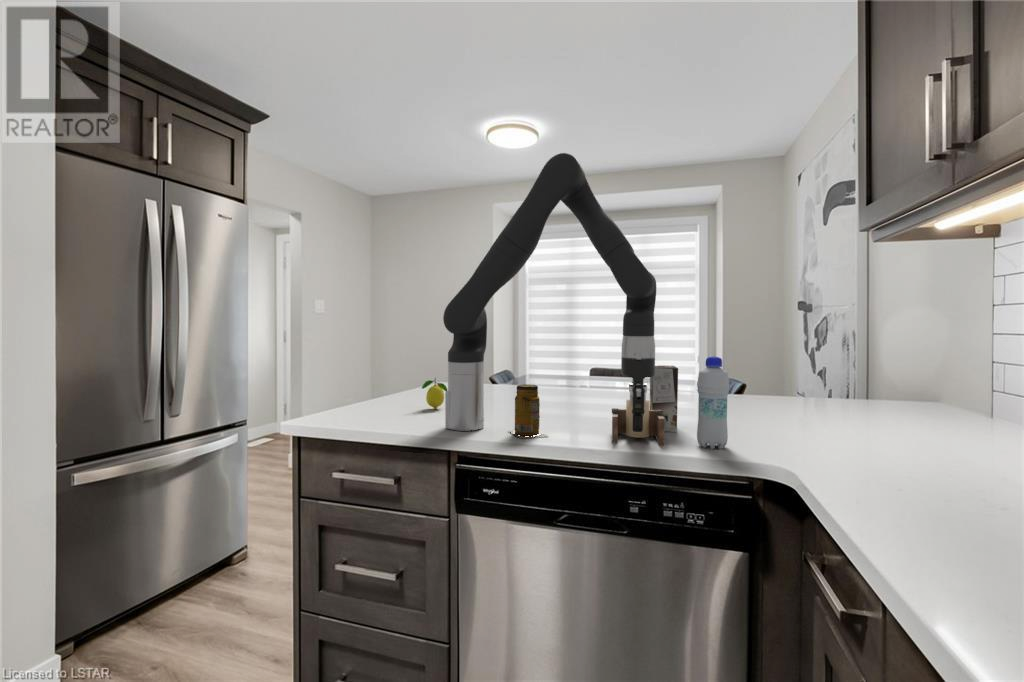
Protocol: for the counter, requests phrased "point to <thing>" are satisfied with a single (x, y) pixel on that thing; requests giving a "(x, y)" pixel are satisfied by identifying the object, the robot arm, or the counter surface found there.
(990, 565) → the counter surface
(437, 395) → the lemon
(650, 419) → the holder
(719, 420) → the bottle
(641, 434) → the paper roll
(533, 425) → the condiment
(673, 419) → the coffee box
